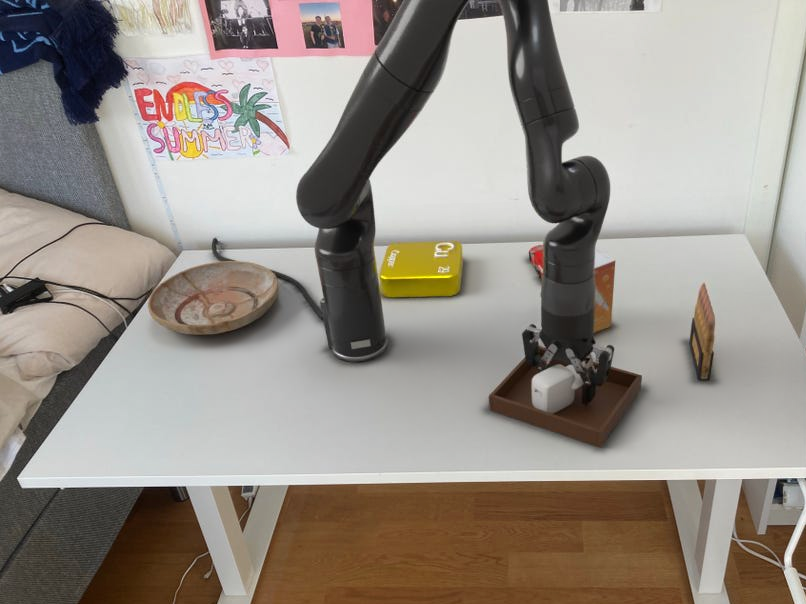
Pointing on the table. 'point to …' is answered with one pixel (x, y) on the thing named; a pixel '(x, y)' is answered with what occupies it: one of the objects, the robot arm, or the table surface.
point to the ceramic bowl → (214, 297)
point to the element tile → (422, 269)
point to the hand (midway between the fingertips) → (566, 394)
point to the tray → (575, 418)
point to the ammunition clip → (702, 336)
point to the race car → (537, 259)
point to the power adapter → (555, 388)
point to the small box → (603, 290)
